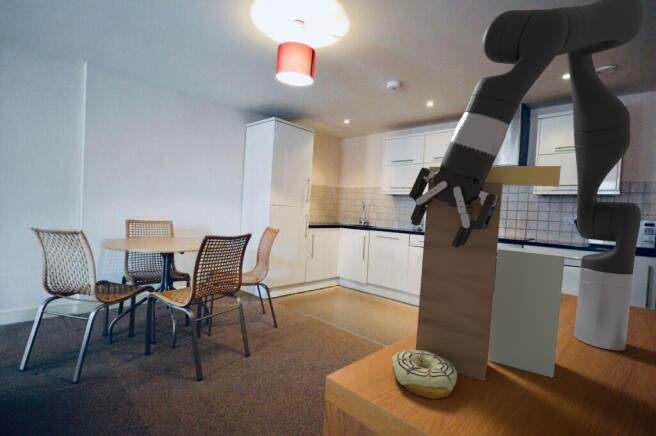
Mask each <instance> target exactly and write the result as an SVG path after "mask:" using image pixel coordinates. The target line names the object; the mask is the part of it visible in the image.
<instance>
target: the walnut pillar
mask: <svg viewBox="0 0 656 436" xmlns="http://www.w3.org/2000/svg"><path fill="white" fill-rule="evenodd" d="M427 185H428V186H427V191H429V190H431V189H432V188H434V187H435V186H434V182H428V184H427ZM503 186H504V185H502V183H488V182H484V183H483V186H482V191H484V192H487V193H490V194H497V195H499V197H500V199H499V201H498V204H497V206H496V208H495V211H494V213H493V215H492V217H491V220H490V222H489V224H488V227H487V228H486V229H479V230H478V229H473V230H472V231H471V233H470V235H469V237H468V239H467V241H466V243H465V244H464V245H462V246H460V247H454V246H452V243H453V240H454V238H455V236H456V234H457V232H458V230H459V228H460V226H463V225H462V220H461V216H460V214H459V212H458V207H453V206H450V205H449V204H448V203H447V202H442V201H439V200H438V199H437V200H434V201H432V202H431V203H429V204H427V205H426V207H427V209H426V212H425V221H424V235H423V249H422V251H423V252H422V263H421V275H420V287H419V299H418V300H419V301H418V312H417V313H418V315H417V330H416V339H415V340H416V342H415V350H419V351H428V352H431V353H434V354H437V355H439V356H441V357H443V358H445V359H446V360H448V361H449V362H450V363H451V364H452V365H453V366H454V367H455V369H456V371H457V374H460V375H464V376H466V377H469V378H472V379H476V380H480V381H482V382H483V381H484V382H485V381H486V376H487V368H488V355H489V343H490V332H491V320H492V308H493V297H494V285H495V274H496V262H497V250H498V247H499V245H498V244H499V235H500V221H501V213H502V211H501V209H502V200H503V188H504V187H503ZM472 204H473V209H474V219H475V221H476V220H477V218H478V215H479V213H480V210H481V208H482V206H483V205H481V198H480V197H479V198H477V199H475V200H474V201H472Z"/></svg>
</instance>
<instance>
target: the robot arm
mask: <svg viewBox="0 0 656 436" xmlns="http://www.w3.org/2000/svg"><path fill="white" fill-rule="evenodd" d="M643 8H644V6H643V3H642V0H598V1H595V2H592V3H590V4H585V5H575V6H562V7H560V6H559V7H555V8H549V9H547V8H546V9H545V8H544V9H510V10H506V11H503V12H502V13H500V14H499V15H496V16H495V18H493V19H492V20H491V22H490V23H489V24H488V25H487V27H486V28H485V29H486V30H485V31H484V35H483V37H482V50H483V54H485V56H486V58H487V59H488V60H490V61H491V62H493V63H497V64H506V65H513V66H511V68H510V69H509V70H508V71H506V72H504V73H502V74H498V75H497V74H496V75H491V76H486V77H482V78H480V80H479V81H478V82H477V83H476V85H475V86H474V90H473V91H472V94H471V96H470V99H469V101H468V104H467V106H466V108H465V111H464V113H463V114H462V117H461V118H460V120H459V122H458V124H457V126H456V127H455V130H454V133H453V134H452V135H451V140H450V141H449V144H448V145H447V146H448V147H447V148H446V150H445V153H444V155H443V158H442V161H441V163H440V166H439V167H440V169H439V171H438V172H437V173H436V172H434V171H432V169H429V167H421V169H420V170H419V172H418V174H417V177H416V178H415V181H414V183H413V185H412V188H411V189H410V191H409V194H408V195H409V196H408V197H409V198H410V199H412V200H414V202H415V207H414V208H413V212H412V214H411V216H410V221H411V222H410V223H411V225H413V226H420V225H421V223H422V221H423V218H424V216H425V215H426V209H427V204H429V203H431V202H432V201H434V200H437V199H438V200H439V201H442V202H447V203H448V204H449V205H450V206H453V207H458V212H459V214H460V216H461V220H462V225H463V226H460V228H459V230H458V232H457V234H456V236H455V238H454V240H453V243H452V246H454V247H460V246H462V245H464V244H465V243H466V241H467V239H468V237H469V235H470V233H471V231H472V230H473V229H478V230H479V229H486V228H487V227H488V224H489V222H490V220H491V217H492V215H493V213H494V211H495V208H496V206H497V204H498V201H499V199H500V197H499V195H497V194H490V193H487V192H484V191H482V186H483V183H484V182H485V180H486V178H487V176H488V173H489V171H490V169H491V167H492V166H494V163H495V161H496V159H497V156H498V154H499V153H500V150H501V148H502V146H503V144H504V142H505V140H506V137H507V133H508V130H509V128H510V125H511V123H512V121H513V119H514V117H515V116H516V113H517V111H518V108H520V107H519V106H520V104H521V102H522V100H523V99H524V97H525V96H526V95H527V93H528V92H529V91H530V89H531V88H532V87H533V85H534V84H535V82H537V80H538V79H539V78H540V76H541V75H542V74H543V73H544V72H545V70H546V69H547V68H548V67H549V66H550V64H551V63H552V62H553V61H554V60H555V58H556V57H557V56H562V55H566V60H567V66H568V73H569V78H570V79H569V80H570V86H571V96H572V98H571V99H572V118H573V119H572V120H573V139H574V140H573V143H574V151H575V153H574V154H575V162H576V163H575V164H576V175H577V177H576V178H577V194H576V197H577V198H576V199H577V200H576V227H577V228H576V229H577V232H578V234H579V236H580V237H581V238H583V239H586V240H592V241H602V242H610V243H615V245H613V246H614V247H613V248H611V249H609V250H606V251H603V252H598V253H591V254H585V255H583V256H582V257H581V261H580V262H581V263H580V271H579V272H580V273H579V280H578V281H579V282H578V293H577V302H576V303H577V304H576V312H575V323H574V330H573V332H574V333H573V336H574V338H575V339H577V340H578V341H580V342H582V343H584V344H587V345H590V346H593V347H596V348H600V349H605V350H608V351H609V350H610V351H624V350H625V349H626V342H627V335H628V327H629V325H628V324H629V317H630V307H631V299H632V298H631V295H632V286H633V278H634V276H633V275H634V268H635V267H634V266H635V259H636V251H637V244H638V240H639V239H638V238H639V234H640V227H641V220H642V212H641V209H640V206H639V205H638V204H636V203H634V202H626V201H625V202H624V201H620V202H619V201H598V192H599V189H600V187H601V185H602V184H603V182H604V180H605V179H606V178H607V176H608V175H609V174H610V172H612V170H613V169H614V167H616V166H617V164H618V163H619V162H620V160H621V159H622V158H623V156H625V154H626V152H627V151H628V149H629V146H630V144H631V115H630V112H629V110H628V107H627V106H626V105H625V104H624V103H623V101H621V100H620V98H619V97H618V96H617V95H616V94H615V93H613V92H612V91H611V90H610V89H609V88H608V86H607V85H605V83H603V81H602V80H601V78H600V77H599V74H598V73H597V70H596V67H595V65H594V61H593V55H594V54H598V53H600V52H605V51H608V50H611V49H616V48H619V47H621V46H624V45H627V44H628V43H629V42H631V41H633V40H634V39H635V38H636V37H637V36H638V34H639V33H640V31H641V28H642V25H643V20H644V19H643V18H644V9H643ZM432 179H433V181H434V186H435V187H434V188H432V189H431V190H429V191H428V190H427V191H426V192H425V190H426V188H427V187H428V186H427V185H428V182H430V181H431V180H432ZM424 192H425V193H424ZM479 197H480V198H481V205H483V206H482V208H481V210H480V213H479V215H478V218H477V220H476V221H475V219H474V209H473V204H472V201H474V200H475V199H477V198H479Z"/></svg>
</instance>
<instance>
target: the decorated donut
mask: <svg viewBox="0 0 656 436" xmlns="http://www.w3.org/2000/svg"><path fill="white" fill-rule="evenodd" d="M391 368H392V373H393V375H394V377H395V378H396V380H397V382H399V383H400V384H401V385H402V386H403V387H404V388H405V389H406V390H407V391H408V392H409V393H412V394H414V395H416V396H420V397H423V398H425V399H430V400H436V399H440V398H441V399H442V398H446V397H449V396H450V394H451V393H452V392H453V390H454V388H455V387H456V384H457V381H458V373H457V371H456V369H455V367H454V366H453V365H452V364H451V363H450V362H449V361H448V360H446V359H445V358H443V357H441V356H439V355H437V354H434V353H431V352H428V351H419V350H416V349H405V350H401V351H398V352H397V353H396V354H394V355H393V356H392V358H391Z"/></svg>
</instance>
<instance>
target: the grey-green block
mask: <svg viewBox="0 0 656 436" xmlns="http://www.w3.org/2000/svg"><path fill="white" fill-rule="evenodd" d="M565 258H566V256H565V255H563V254H562V253H561V252H559V251H551V250H543V249H534V248H533V249H532V248H525V247H515V246H513V247H512V246H503V245H498V247H497V259H496V270H495V282H494V294H493V305H492V317H491V329H490V340H489V352H488V361H489V362H493V363H496V364H500V365H504V366H508V367H512V368H515V369H519V370H523V371H527V372H530V373H532V374H533V373H534V374H537V375H541V376H545V377H548V376H549V377H548V378H552V377H553V378H554V374H555V363H556V354H557V344H558V343H557V342H558V333H559V322H560V311H561V310H560V308H561V300H562V290H563V289H562V288H563V281H564V280H563V279H564V268H565Z"/></svg>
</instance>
